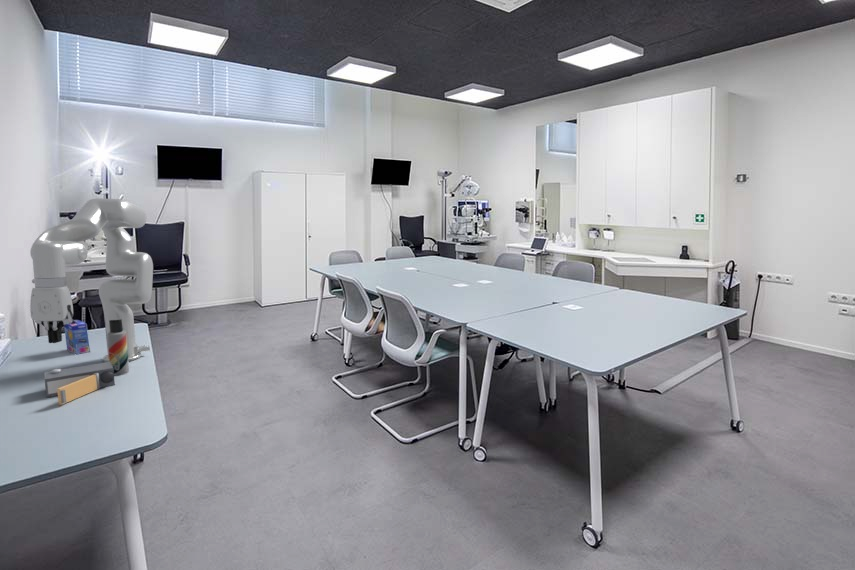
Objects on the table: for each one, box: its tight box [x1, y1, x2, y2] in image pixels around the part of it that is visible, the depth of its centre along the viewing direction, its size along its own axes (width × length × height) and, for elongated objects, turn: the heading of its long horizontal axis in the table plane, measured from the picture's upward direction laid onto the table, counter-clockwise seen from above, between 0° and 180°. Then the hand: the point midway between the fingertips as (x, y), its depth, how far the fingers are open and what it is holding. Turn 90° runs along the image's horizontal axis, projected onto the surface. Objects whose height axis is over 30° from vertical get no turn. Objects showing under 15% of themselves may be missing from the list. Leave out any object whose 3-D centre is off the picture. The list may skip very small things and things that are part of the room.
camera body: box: [43, 362, 116, 398], centre depth 155 cm, size 18×9×7 cm, turn 130°
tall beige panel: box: [57, 373, 101, 406], centre depth 148 cm, size 14×2×5 cm, turn 170°
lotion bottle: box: [107, 319, 130, 376], centre depth 168 cm, size 6×6×20 cm
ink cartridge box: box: [63, 318, 91, 355], centre depth 192 cm, size 10×6×14 cm, turn 54°
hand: (55, 342), depth 144 cm, fingers closed
